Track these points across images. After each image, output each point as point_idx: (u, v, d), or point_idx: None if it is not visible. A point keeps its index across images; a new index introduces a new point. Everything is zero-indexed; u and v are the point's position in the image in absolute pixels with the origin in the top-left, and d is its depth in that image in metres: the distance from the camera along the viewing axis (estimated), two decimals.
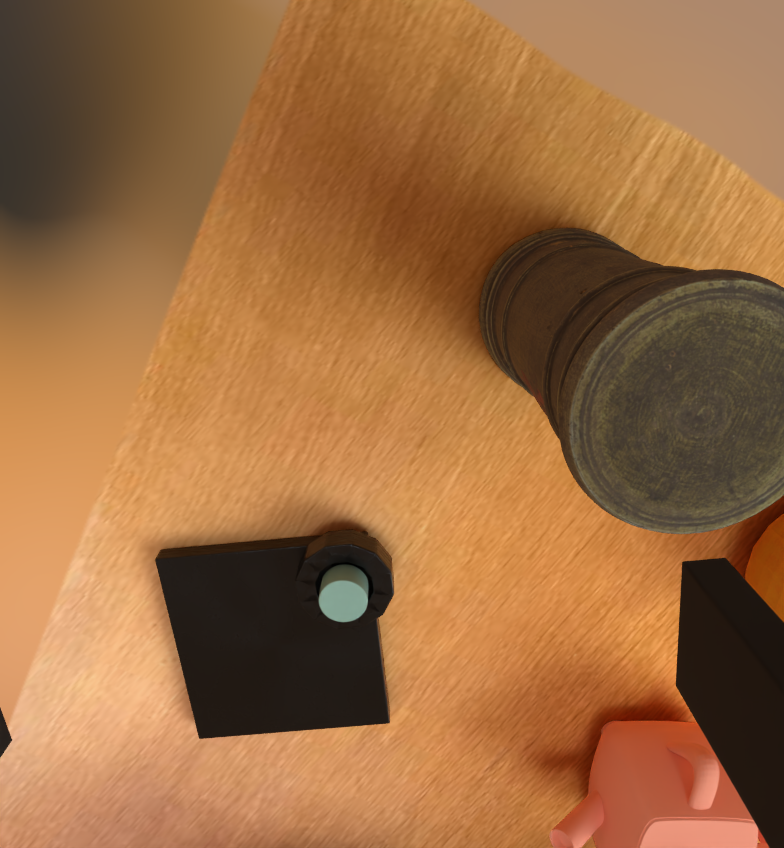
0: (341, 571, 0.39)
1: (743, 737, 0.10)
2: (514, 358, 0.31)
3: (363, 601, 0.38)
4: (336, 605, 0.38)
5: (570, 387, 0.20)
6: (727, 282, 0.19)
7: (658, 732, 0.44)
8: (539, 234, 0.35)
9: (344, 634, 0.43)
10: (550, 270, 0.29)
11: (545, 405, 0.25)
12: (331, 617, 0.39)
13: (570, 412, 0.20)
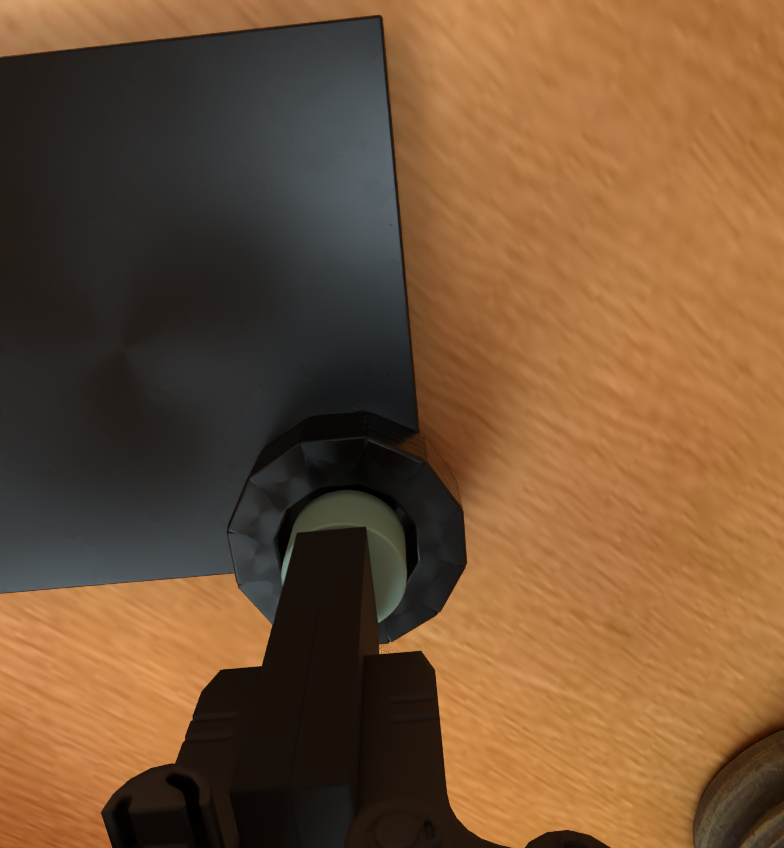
0: (405, 552, 0.16)
1: None
2: None
3: None
4: None
5: None
6: None
7: None
8: None
9: (176, 507, 0.18)
10: None
11: None
12: None
13: None
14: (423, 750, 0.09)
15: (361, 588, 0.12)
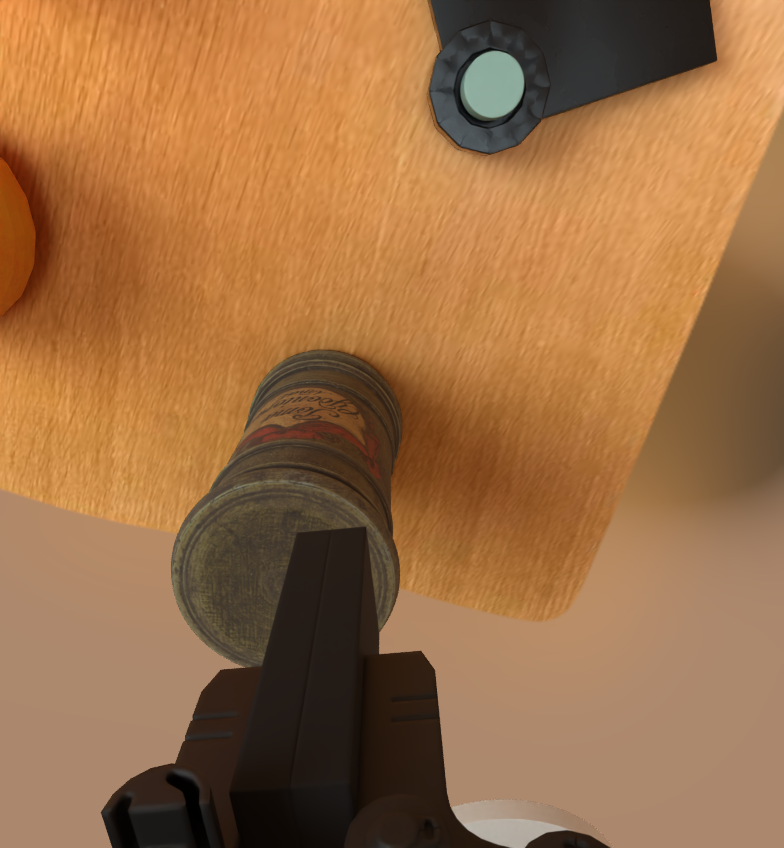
0: (497, 118, 0.32)
1: None
2: (382, 435, 0.34)
3: (469, 90, 0.31)
4: (501, 76, 0.31)
5: (397, 579, 0.25)
6: None
7: None
8: None
9: None
10: None
11: (381, 489, 0.28)
12: (505, 56, 0.31)
13: (393, 566, 0.24)
14: (423, 750, 0.09)
15: (361, 588, 0.12)
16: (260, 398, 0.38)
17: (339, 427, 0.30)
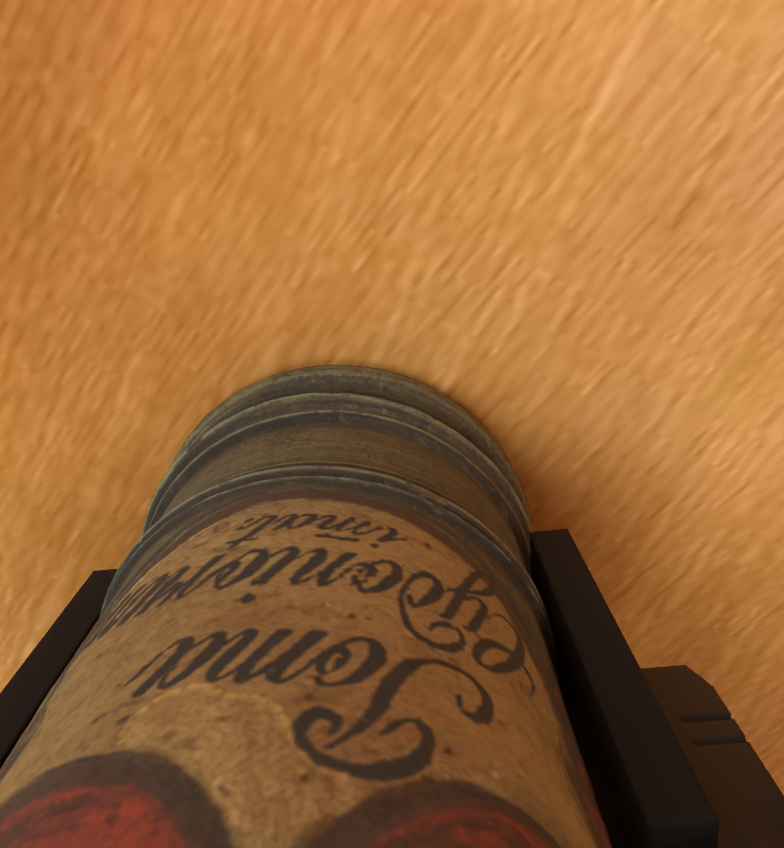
0: None
1: (559, 681, 0.12)
2: None
3: None
4: None
5: None
6: None
7: None
8: None
9: None
10: None
11: None
12: None
13: None
14: (750, 779, 0.08)
15: (601, 596, 0.11)
16: (188, 472, 0.13)
17: (527, 838, 0.06)
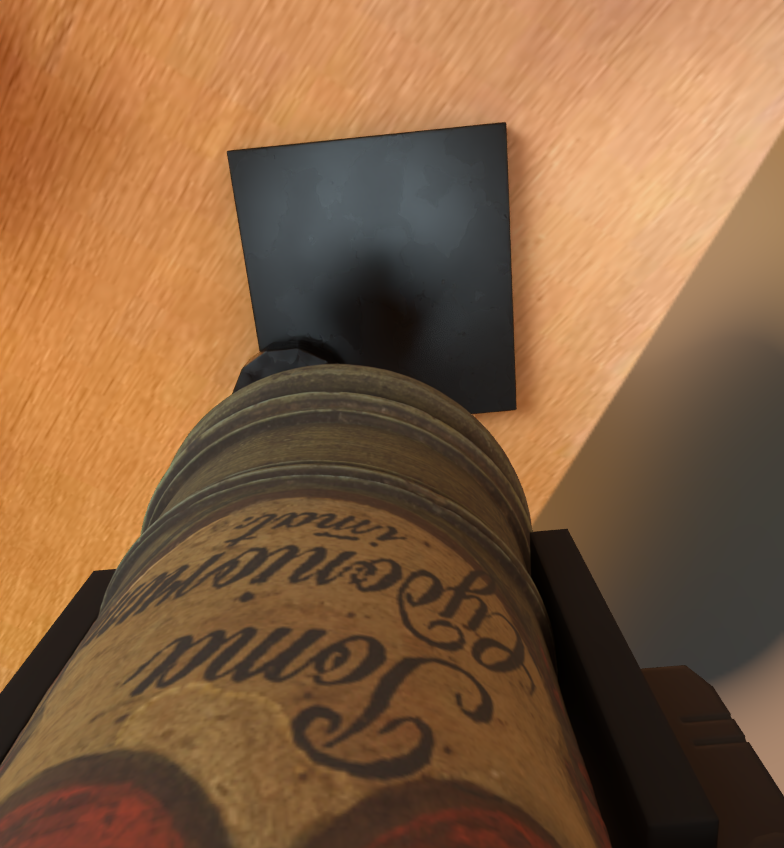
0: None
1: (559, 681, 0.12)
2: None
3: None
4: None
5: None
6: None
7: None
8: None
9: (295, 305, 0.34)
10: None
11: None
12: None
13: None
14: (750, 779, 0.08)
15: (601, 596, 0.11)
16: (187, 471, 0.13)
17: (526, 837, 0.06)
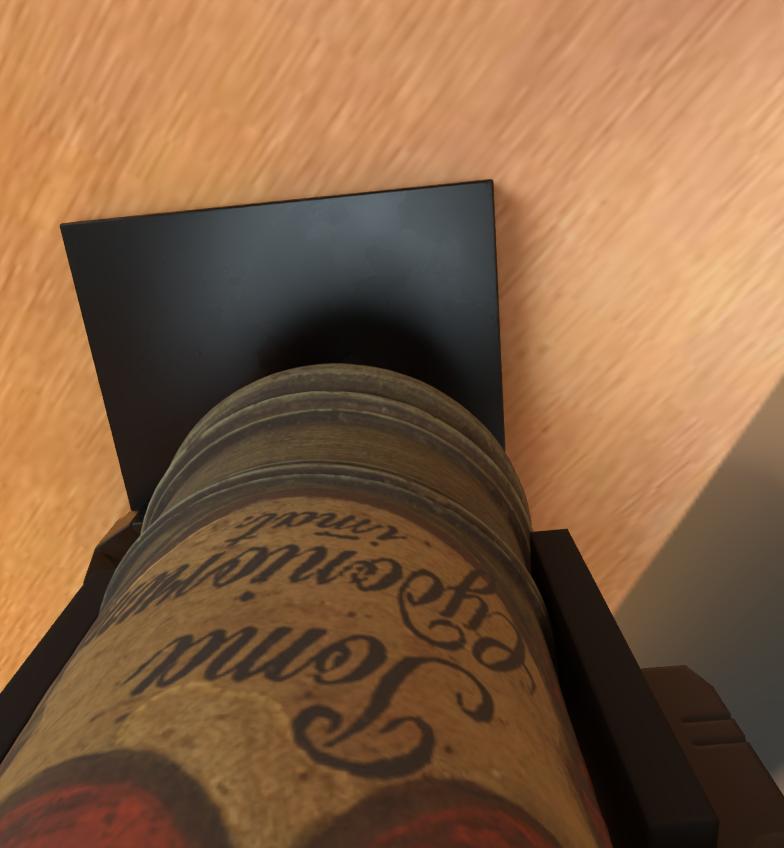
0: None
1: (559, 681, 0.12)
2: None
3: None
4: None
5: None
6: None
7: None
8: None
9: (179, 447, 0.22)
10: None
11: None
12: None
13: None
14: (750, 779, 0.08)
15: (601, 596, 0.11)
16: (187, 471, 0.13)
17: (528, 837, 0.06)
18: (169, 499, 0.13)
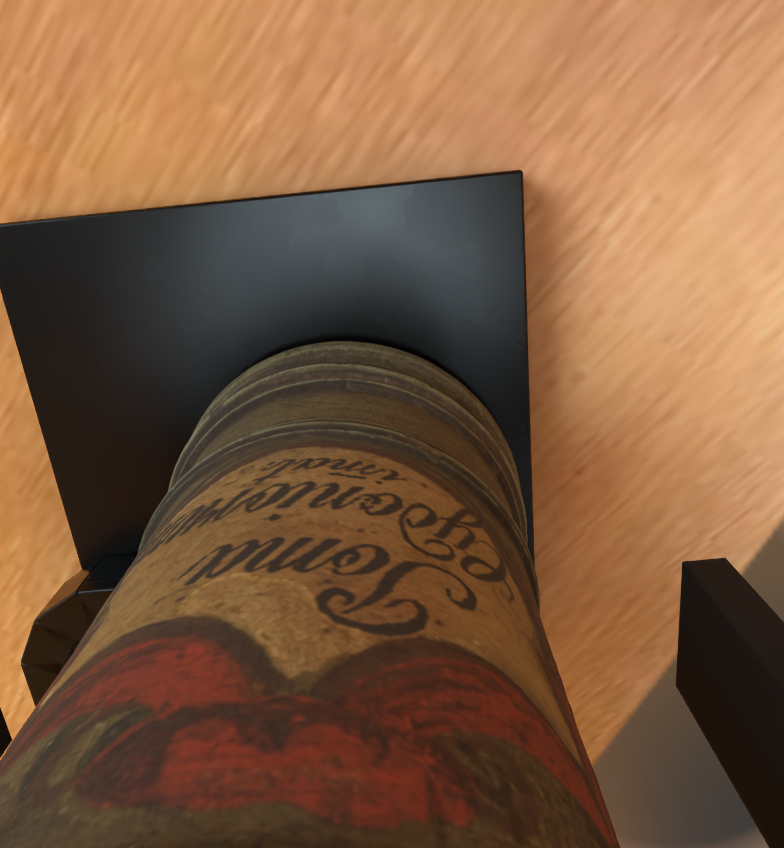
0: None
1: (743, 737, 0.10)
2: None
3: None
4: None
5: None
6: None
7: None
8: None
9: (138, 496, 0.19)
10: None
11: None
12: None
13: None
14: None
15: None
16: (211, 434, 0.15)
17: (500, 684, 0.07)
18: (195, 460, 0.15)
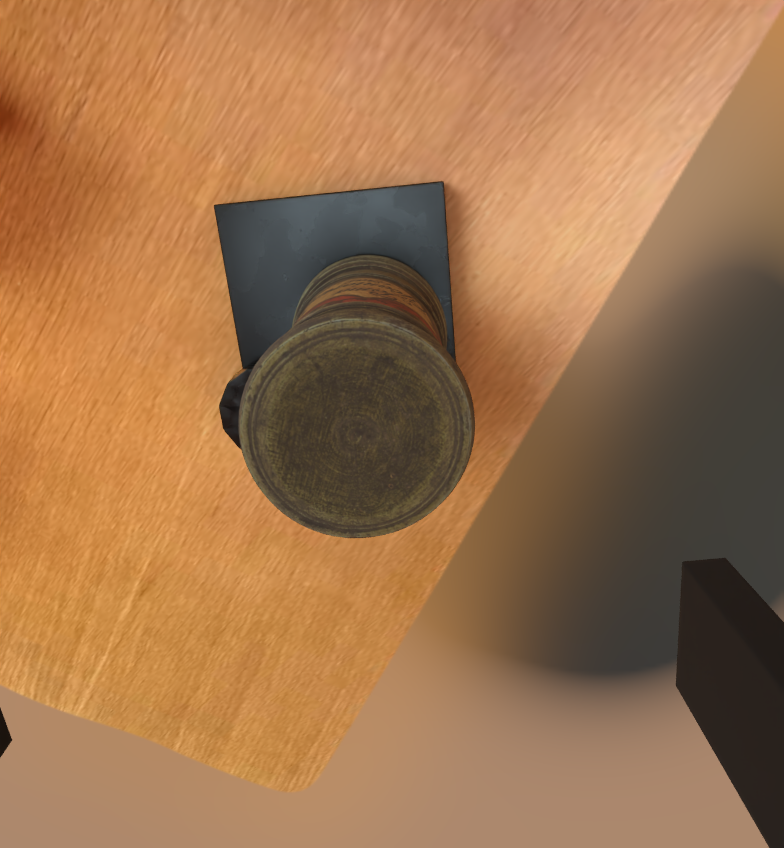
0: None
1: (743, 737, 0.10)
2: None
3: None
4: None
5: (469, 453, 0.24)
6: (355, 535, 0.25)
7: None
8: None
9: (272, 331, 0.40)
10: None
11: None
12: None
13: (471, 437, 0.24)
14: None
15: None
16: (315, 289, 0.37)
17: (414, 312, 0.29)
18: None
